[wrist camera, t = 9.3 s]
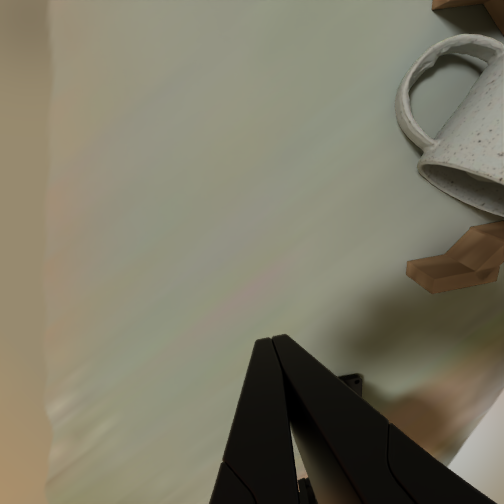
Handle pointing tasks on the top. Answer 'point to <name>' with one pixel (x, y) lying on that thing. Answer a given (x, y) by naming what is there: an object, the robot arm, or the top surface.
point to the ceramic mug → (463, 127)
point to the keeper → (477, 237)
